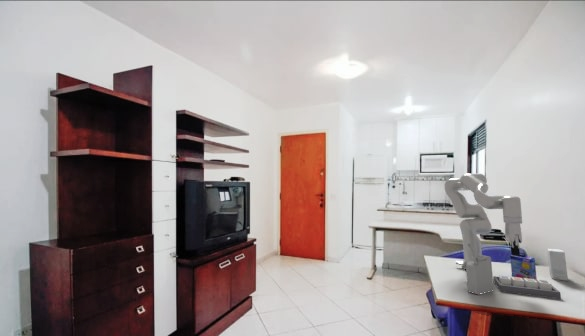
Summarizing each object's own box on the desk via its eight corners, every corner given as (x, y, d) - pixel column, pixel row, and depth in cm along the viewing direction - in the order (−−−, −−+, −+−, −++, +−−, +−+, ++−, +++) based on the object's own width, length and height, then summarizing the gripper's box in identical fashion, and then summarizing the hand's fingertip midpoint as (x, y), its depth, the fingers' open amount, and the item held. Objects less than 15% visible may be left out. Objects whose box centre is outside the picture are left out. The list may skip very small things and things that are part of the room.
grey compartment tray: (500, 291, 133) (499, 285, 133) (493, 281, 146) (493, 276, 146) (560, 298, 123) (560, 292, 123) (548, 287, 135) (547, 282, 135)
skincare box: (568, 281, 143) (565, 252, 144) (551, 279, 147) (549, 250, 148) (564, 276, 150) (562, 249, 151) (548, 274, 154) (546, 247, 155)
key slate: (501, 284, 137) (500, 277, 137) (499, 281, 141) (498, 274, 141) (511, 285, 135) (511, 279, 135) (508, 282, 139) (508, 276, 139)
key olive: (527, 287, 132) (526, 280, 132) (523, 283, 136) (523, 277, 136) (538, 288, 130) (537, 281, 130) (534, 285, 134) (533, 278, 135)
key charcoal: (540, 288, 130) (540, 282, 130) (536, 285, 134) (536, 278, 134) (551, 290, 128) (551, 283, 128) (547, 286, 132) (547, 280, 132)
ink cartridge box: (511, 276, 153) (509, 251, 154) (515, 274, 155) (513, 249, 156) (532, 281, 144) (530, 254, 145) (537, 279, 147) (534, 253, 148)
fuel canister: (474, 296, 128) (470, 244, 129) (464, 292, 132) (461, 242, 134) (494, 291, 134) (490, 241, 135) (483, 287, 138) (480, 239, 140)
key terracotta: (514, 285, 134) (513, 279, 134) (511, 282, 139) (510, 276, 139) (524, 286, 132) (524, 280, 133) (521, 283, 137) (520, 277, 137)
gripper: (500, 217, 146) (502, 251, 145) (507, 221, 132) (510, 258, 131) (517, 218, 142) (520, 252, 141) (526, 222, 129) (530, 260, 128)
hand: (515, 255), depth 136 cm, fingers closed
